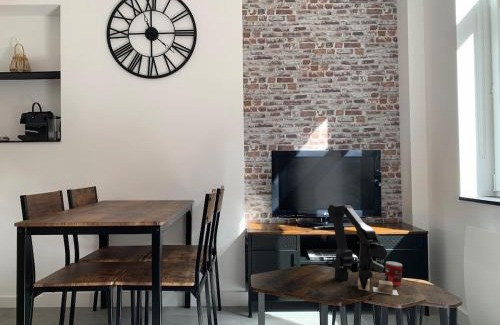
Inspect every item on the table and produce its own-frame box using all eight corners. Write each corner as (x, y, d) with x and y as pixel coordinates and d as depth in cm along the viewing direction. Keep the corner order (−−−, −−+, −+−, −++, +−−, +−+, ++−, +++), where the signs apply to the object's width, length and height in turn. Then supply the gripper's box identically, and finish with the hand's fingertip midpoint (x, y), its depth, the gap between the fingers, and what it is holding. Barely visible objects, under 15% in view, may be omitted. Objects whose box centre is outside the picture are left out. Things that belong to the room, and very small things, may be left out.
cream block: (379, 291, 178) (379, 283, 178) (378, 288, 184) (378, 279, 184) (392, 293, 177) (393, 285, 177) (391, 290, 182) (391, 281, 183)
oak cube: (358, 290, 180) (358, 279, 180) (357, 287, 185) (358, 277, 185) (369, 292, 179) (369, 281, 179) (368, 289, 184) (369, 278, 184)
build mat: (373, 292, 178) (373, 291, 178) (372, 288, 186) (372, 286, 186) (398, 296, 175) (398, 295, 175) (396, 291, 183) (396, 290, 183)
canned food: (386, 281, 200) (387, 260, 200) (402, 284, 196) (403, 263, 196) (382, 284, 193) (384, 263, 194) (399, 288, 189) (400, 266, 189)
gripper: (385, 261, 171) (382, 296, 171) (381, 253, 189) (379, 284, 189) (359, 258, 174) (357, 292, 174) (358, 250, 192) (356, 281, 192)
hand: (363, 287), depth 182 cm, fingers closed on oak cube, 5 cm apart
